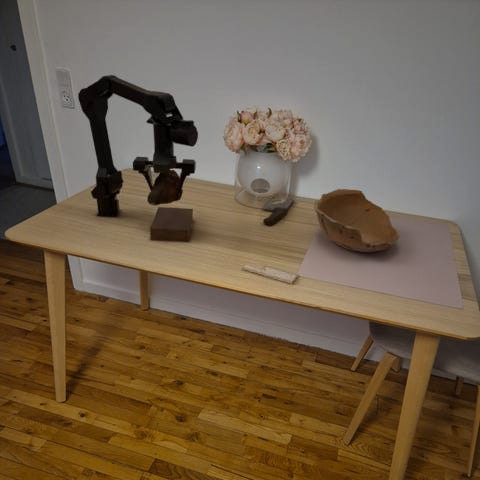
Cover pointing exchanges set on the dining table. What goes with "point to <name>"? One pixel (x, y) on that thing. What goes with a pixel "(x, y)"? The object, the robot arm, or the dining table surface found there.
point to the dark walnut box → (172, 224)
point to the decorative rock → (165, 189)
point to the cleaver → (276, 210)
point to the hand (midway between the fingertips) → (166, 192)
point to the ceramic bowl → (354, 221)
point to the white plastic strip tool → (273, 273)
